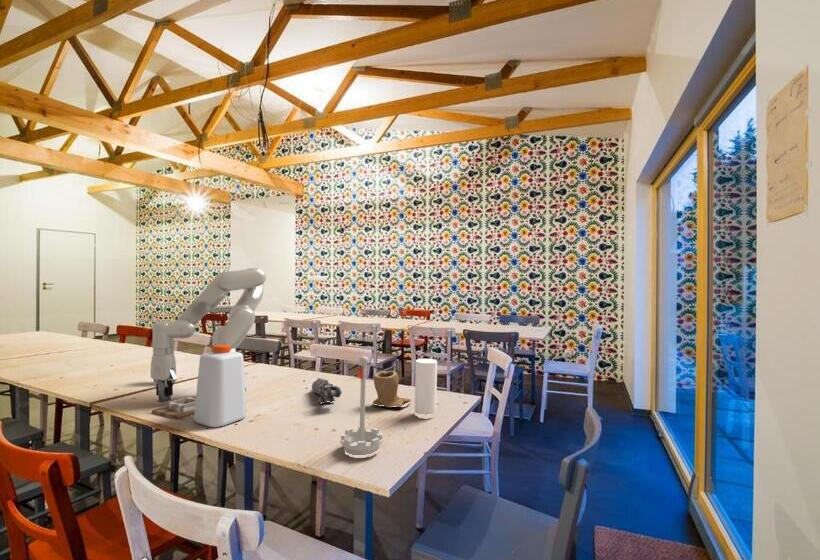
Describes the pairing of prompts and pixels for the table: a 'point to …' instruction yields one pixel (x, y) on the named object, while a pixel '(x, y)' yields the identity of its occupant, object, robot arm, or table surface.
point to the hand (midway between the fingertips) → (164, 394)
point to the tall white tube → (425, 385)
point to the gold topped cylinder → (162, 391)
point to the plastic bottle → (220, 388)
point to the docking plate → (178, 408)
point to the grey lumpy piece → (326, 390)
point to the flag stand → (361, 425)
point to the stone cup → (388, 389)
